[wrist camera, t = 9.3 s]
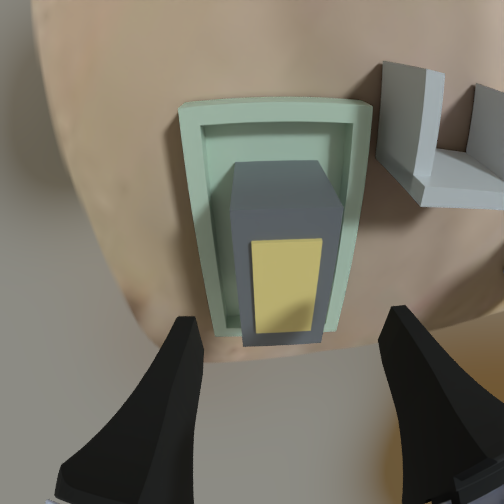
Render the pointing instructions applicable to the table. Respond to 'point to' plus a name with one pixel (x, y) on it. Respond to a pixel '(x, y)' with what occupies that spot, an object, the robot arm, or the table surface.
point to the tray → (269, 149)
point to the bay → (425, 139)
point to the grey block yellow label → (283, 249)
